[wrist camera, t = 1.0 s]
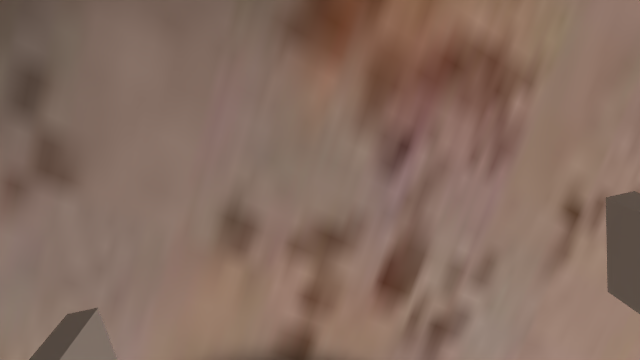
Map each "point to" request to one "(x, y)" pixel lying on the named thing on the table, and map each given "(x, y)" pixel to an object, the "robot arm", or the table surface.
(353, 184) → the table surface
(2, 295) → the table surface
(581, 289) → the table surface
